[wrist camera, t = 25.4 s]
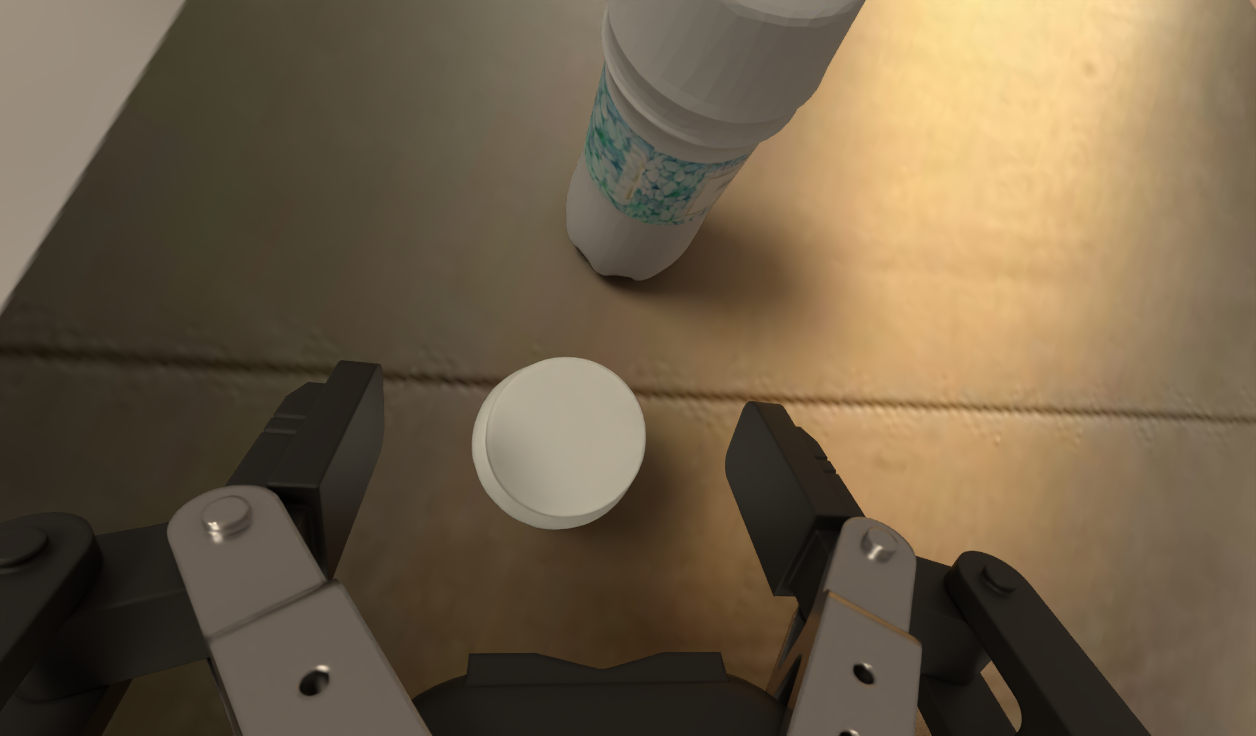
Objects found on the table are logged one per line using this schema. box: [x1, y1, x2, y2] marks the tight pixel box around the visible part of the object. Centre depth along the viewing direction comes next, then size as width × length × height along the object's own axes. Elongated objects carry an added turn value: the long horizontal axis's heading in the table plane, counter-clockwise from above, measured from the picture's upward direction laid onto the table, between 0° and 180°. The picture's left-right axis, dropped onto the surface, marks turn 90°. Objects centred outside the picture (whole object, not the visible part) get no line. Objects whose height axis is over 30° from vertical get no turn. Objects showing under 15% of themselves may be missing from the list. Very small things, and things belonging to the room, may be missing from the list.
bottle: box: [566, 0, 865, 281], centre depth 19 cm, size 7×7×20 cm
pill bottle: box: [472, 357, 646, 530], centre depth 21 cm, size 6×6×10 cm
